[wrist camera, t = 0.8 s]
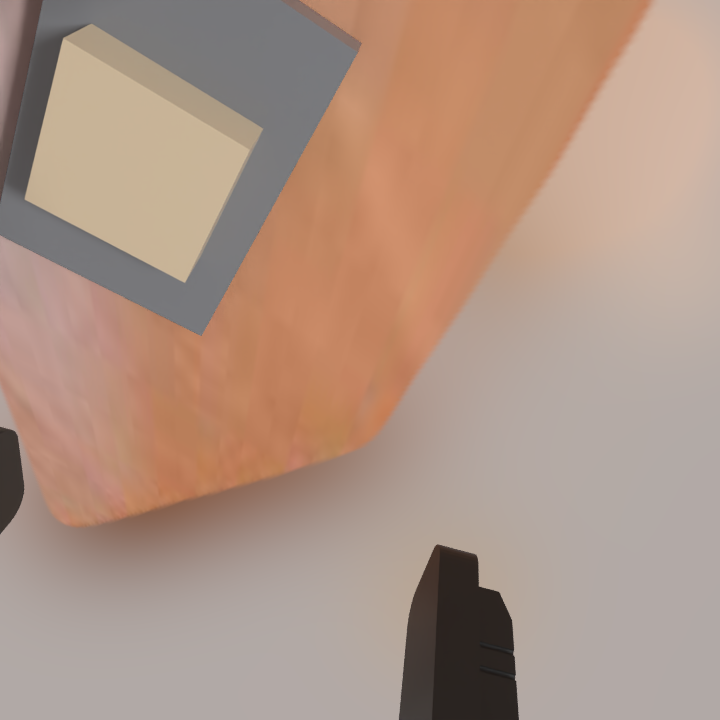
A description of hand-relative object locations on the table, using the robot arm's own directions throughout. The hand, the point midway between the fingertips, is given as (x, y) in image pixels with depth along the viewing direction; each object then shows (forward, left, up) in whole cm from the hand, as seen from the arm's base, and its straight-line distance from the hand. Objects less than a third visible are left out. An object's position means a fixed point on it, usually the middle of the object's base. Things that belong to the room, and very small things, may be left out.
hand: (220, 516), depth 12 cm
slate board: (-7, -6, -22) cm, 24 cm away
